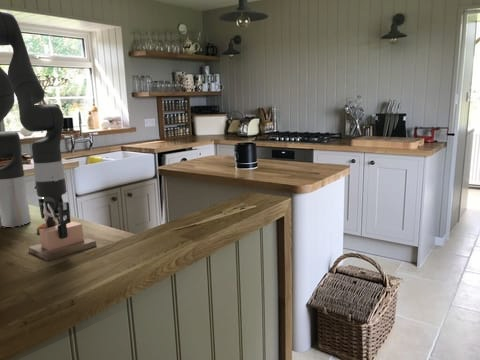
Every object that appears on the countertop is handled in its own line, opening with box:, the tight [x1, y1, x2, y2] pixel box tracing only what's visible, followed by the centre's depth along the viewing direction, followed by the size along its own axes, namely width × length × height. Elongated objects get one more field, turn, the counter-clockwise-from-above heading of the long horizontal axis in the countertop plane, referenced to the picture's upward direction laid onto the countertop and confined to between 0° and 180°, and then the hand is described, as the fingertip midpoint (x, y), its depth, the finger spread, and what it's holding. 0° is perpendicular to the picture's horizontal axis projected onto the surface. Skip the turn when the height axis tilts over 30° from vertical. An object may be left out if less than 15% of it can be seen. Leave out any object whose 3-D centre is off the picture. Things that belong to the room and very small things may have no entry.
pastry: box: [36, 219, 60, 234], centre depth 136 cm, size 9×7×4 cm
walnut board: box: [27, 236, 97, 261], centre depth 116 cm, size 12×14×2 cm
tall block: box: [39, 221, 85, 250], centre depth 116 cm, size 5×5×10 cm
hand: (57, 235), depth 115 cm, fingers open, 6 cm apart
